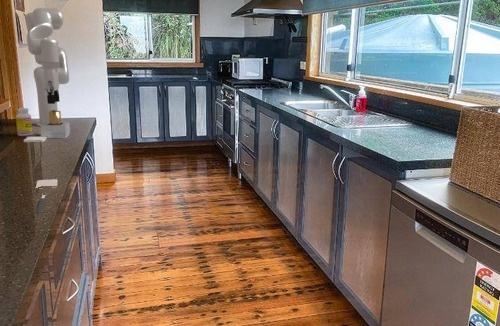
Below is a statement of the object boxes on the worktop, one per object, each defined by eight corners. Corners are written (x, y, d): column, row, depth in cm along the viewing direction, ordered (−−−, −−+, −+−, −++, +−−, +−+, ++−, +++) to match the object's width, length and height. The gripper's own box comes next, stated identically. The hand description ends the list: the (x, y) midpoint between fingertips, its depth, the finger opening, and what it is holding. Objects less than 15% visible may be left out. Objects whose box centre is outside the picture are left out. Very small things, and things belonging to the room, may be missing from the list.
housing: (47, 133, 228) (46, 121, 227) (70, 133, 230) (69, 121, 229) (41, 138, 217) (40, 125, 215) (65, 138, 219) (65, 125, 217)
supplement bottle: (26, 136, 220) (24, 110, 217) (14, 135, 221) (11, 109, 218) (35, 134, 227) (33, 108, 223) (23, 133, 228) (21, 107, 225)
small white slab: (58, 183, 150) (57, 179, 150) (51, 214, 123) (50, 209, 123) (37, 184, 148) (37, 180, 148) (26, 216, 121) (25, 210, 121)
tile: (28, 138, 215) (28, 136, 215) (46, 138, 217) (46, 136, 217) (23, 142, 208) (23, 140, 207) (42, 141, 209) (42, 139, 209)
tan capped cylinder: (51, 130, 225) (49, 109, 222) (62, 130, 226) (61, 109, 224) (48, 132, 220) (47, 110, 217) (60, 132, 221) (59, 110, 218)
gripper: (46, 65, 223) (49, 101, 227) (37, 66, 206) (41, 104, 210) (62, 65, 224) (65, 101, 228) (55, 66, 208) (58, 104, 211)
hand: (53, 102), depth 219 cm, fingers open, 9 cm apart
